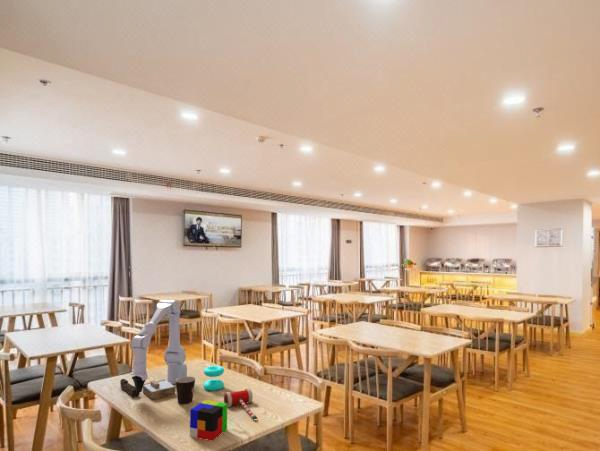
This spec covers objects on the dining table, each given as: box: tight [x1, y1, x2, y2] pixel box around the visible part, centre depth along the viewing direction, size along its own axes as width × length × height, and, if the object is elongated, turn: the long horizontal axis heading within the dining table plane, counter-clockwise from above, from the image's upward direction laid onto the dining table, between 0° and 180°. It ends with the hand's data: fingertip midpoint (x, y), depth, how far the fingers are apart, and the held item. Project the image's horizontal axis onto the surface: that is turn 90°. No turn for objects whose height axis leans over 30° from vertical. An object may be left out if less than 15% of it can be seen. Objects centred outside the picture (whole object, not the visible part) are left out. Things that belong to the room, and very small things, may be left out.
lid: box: [143, 379, 175, 393], centre depth 194 cm, size 11×11×3 cm
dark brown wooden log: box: [119, 378, 141, 398], centre depth 197 cm, size 19×4×5 cm, turn 42°
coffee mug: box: [175, 375, 196, 405], centre depth 183 cm, size 12×9×10 cm
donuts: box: [203, 365, 225, 392], centre depth 202 cm, size 10×10×10 cm
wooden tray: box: [142, 379, 177, 401], centre depth 194 cm, size 11×13×4 cm
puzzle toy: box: [189, 399, 228, 441], centre depth 154 cm, size 10×10×10 cm
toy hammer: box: [223, 388, 258, 421], centre depth 175 cm, size 23×12×6 cm, turn 30°
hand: (138, 392), depth 185 cm, fingers closed
